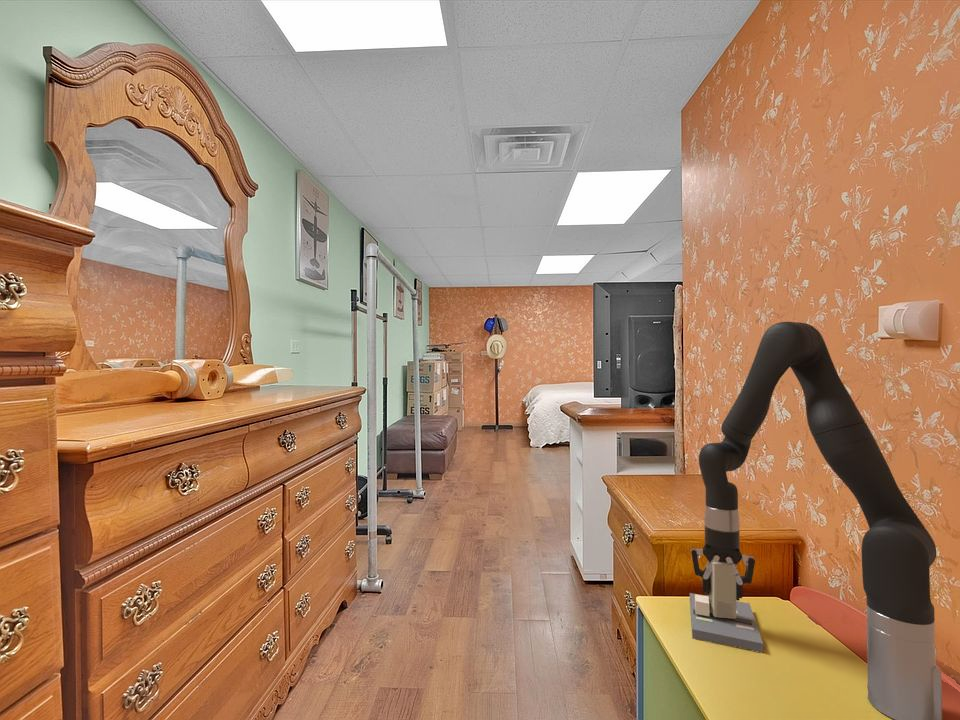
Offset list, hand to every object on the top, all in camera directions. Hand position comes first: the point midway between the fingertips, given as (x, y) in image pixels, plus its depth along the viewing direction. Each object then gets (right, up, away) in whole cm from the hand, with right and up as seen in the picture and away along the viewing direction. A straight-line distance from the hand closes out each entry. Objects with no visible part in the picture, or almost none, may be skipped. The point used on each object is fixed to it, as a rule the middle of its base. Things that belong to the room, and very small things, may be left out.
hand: (722, 596), depth 113 cm
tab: (-4, -4, +2) cm, 6 cm away
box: (0, -4, 0) cm, 4 cm away
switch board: (0, -7, +1) cm, 7 cm away
